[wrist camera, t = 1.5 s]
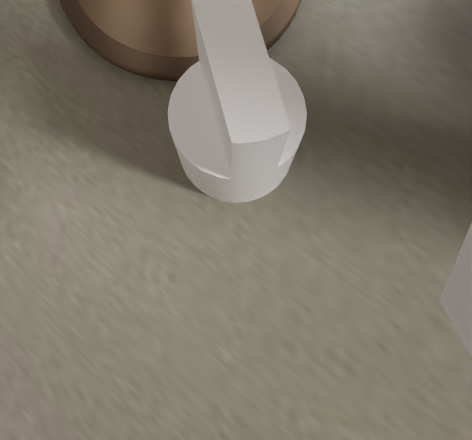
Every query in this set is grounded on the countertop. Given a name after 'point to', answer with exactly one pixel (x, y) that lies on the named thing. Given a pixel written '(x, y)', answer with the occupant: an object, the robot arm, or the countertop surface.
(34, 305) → the countertop surface
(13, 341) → the countertop surface
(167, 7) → the board
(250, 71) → the cylinder with rectangular tab
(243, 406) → the countertop surface
